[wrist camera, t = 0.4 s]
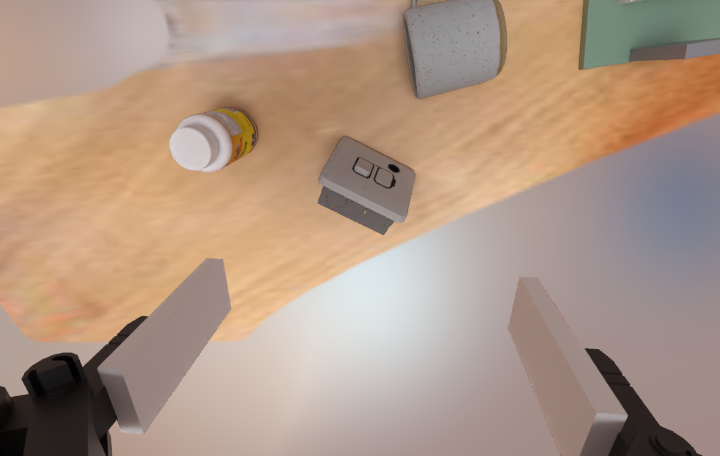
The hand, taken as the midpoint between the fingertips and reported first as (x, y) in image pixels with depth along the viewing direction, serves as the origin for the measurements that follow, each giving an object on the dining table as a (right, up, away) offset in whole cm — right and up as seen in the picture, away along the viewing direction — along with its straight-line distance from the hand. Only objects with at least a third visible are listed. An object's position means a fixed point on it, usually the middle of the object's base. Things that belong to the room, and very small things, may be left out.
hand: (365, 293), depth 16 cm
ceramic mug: (+8, +22, +20) cm, 31 cm away
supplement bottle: (-15, +14, +26) cm, 33 cm away
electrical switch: (+1, +9, +26) cm, 28 cm away
